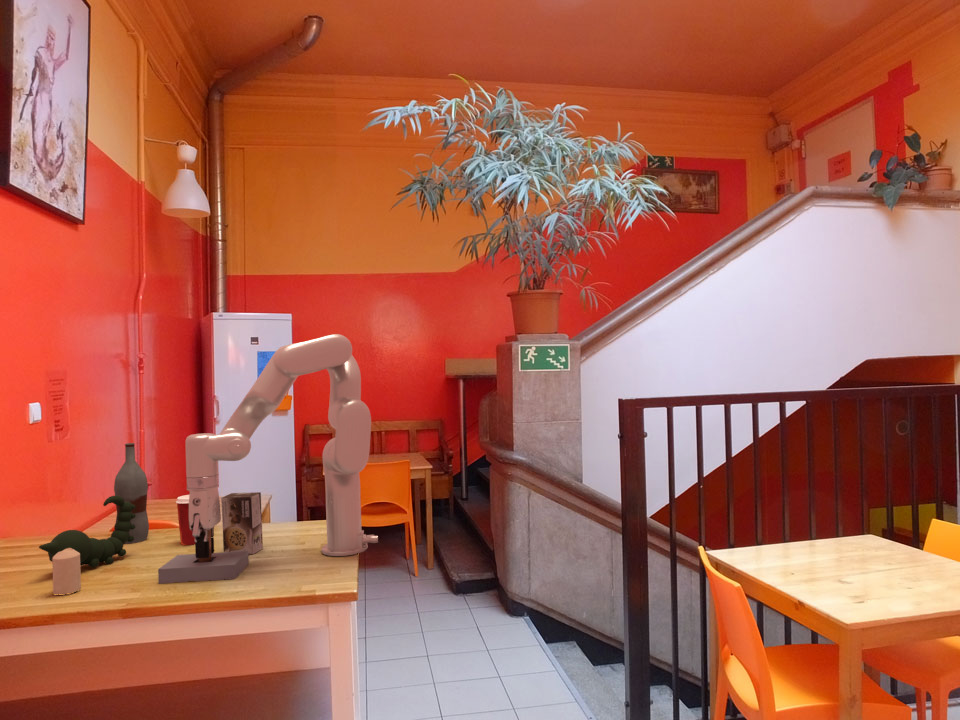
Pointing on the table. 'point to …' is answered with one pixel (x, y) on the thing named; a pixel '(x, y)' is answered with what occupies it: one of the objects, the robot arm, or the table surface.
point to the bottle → (133, 493)
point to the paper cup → (184, 521)
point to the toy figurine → (93, 548)
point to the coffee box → (242, 522)
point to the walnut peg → (209, 548)
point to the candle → (66, 572)
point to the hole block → (203, 567)
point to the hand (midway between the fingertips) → (205, 554)
